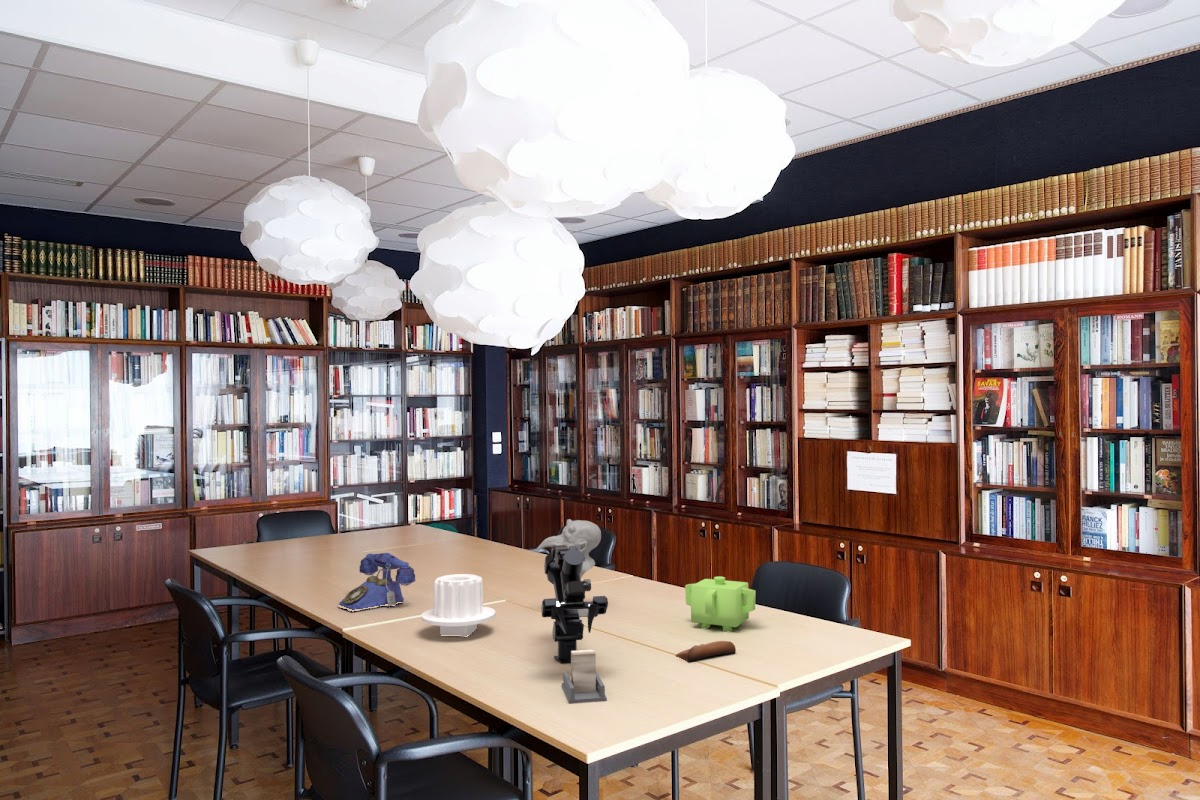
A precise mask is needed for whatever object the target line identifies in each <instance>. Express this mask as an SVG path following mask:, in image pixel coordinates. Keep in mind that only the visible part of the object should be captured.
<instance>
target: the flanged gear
mask: <svg viewBox="0 0 1200 800" xmlns="http://www.w3.org/2000/svg"><path fill="white" fill-rule="evenodd" d="M483 581H484V580H483V578H482V577H481V576H479V575H476V574H469V573H468V574H467V573H459V574H458V573H457V574H456V573H454V574H447V575H445V574H444V575H442V576H439V577H436V579H435V580H434V581H433V608H430V609H427V610H425V611H423V612H422V613H421V618H420V619H421V621H422V622H423V623H425V624H426V625H432V626H437V627H439V635H440V634H441V635H461V636H467V635H469V634H471V633H472V632H473V631H475V630H476V629H477V630H478V625H480V624H484V623H485V622H486V623H487V622H490V621H491V620H493V619H495V618H496V610H495V609H494V608H492V607H489V606H484V605H483V604H484V603H483V602H484V601H483V598H484V597H483V596H484V594H483V592H484V591H483V590H484V589H483V584H484V583H483ZM475 632H476V631H475ZM471 635H472V634H471Z"/></svg>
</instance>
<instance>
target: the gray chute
mask: <svg viewBox="0 0 1200 800" xmlns="http://www.w3.org/2000/svg"><path fill="white" fill-rule="evenodd" d="M562 676H563V681H562V683H561V687H562V690H563V694H564V695H565V697H567V698H566V699H567V702H568V704H577V703H580V704H581V703H591V702H592V703H593V701H594V702H605V701H607V699H608V697H607V695H606V687H605V684H604V682H603V680H602V678H601V677H600V675H599V673H598V672H597V671H596V691H594V692H580V693H574V686H573V684H572V682H571V677H570V676H569V673H568V671H563V674H562Z"/></svg>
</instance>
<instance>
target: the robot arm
mask: <svg viewBox="0 0 1200 800" xmlns="http://www.w3.org/2000/svg"><path fill="white" fill-rule="evenodd" d="M554 558H555V559H554ZM583 561H585V557H584V555H583V553H582V552H581V551H579V550H578V548H576V546H571V547H569V548H568V547H567V546H565V545H558V546H552V547H551V550H550V552H549V553H548V554H547V555H546V556H545V558H544V566H543V567H544V568H543V570H544V574H545V575H546V578H547V581H548V582H549V583H551V584H552V585H553V590H554V596H555V598H553V597H552V598H543V600H542V602H541V610H540V611H541V617H542V618H550V619H551V620H554V621H553V626H552V639H553V641H554V642H557V655H554V656H553V658H554V659H555V660H556V661H557V662H559V663H561V664H566V663H571V651H577V649H578V648H577V644H578V643H577V641H582V640H583V639H584V630H585V629H584V628H585V625H584V623H583V621H582V619H581V617H580V616H579V614H578V609H588V610H589V611H588V616H586V617H587V631H588V633H589V634H591V630H592V626H593V622H594V619H595V618H597V617H598V615H605V614H607V609H608V605H609V601H608V600H609V599H608V597H606V595H596V596H593V597H592V601H585V599H586V592H591V590H592V583H591V582H592V581H591V578H584V579H583V580H582V577H581V578H580V573H581V571H582V566H583Z"/></svg>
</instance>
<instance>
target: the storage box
mask: <svg viewBox="0 0 1200 800" xmlns="http://www.w3.org/2000/svg"><path fill="white" fill-rule="evenodd" d="M684 587H685V588H684V590H685V604H686V605H687V606H690V620H691V621H690V623H695V624H696V623H697V624H700V626H699V628H700V627H701V628H709V629H710V628H711V626H712V625H715V626H722V631H723V630H724V631H723V632H726V631H731V632H733V631H732V630H733V628H737V627H740V626H741V624H742V623H744V622H745V621H747V620H749V617H750V616H749V615H750V612H753V611H755V610H756V596H757V595H756V590H755V589H751V588H749V582H747V581H735V580H726V577H724V576H719V575H718V576H714V577H713V579H712V578H704V579H702V580H699V581H698V582H695V583H687V584H685V585H684ZM739 625H740V626H739ZM701 628H700V629H701Z"/></svg>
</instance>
